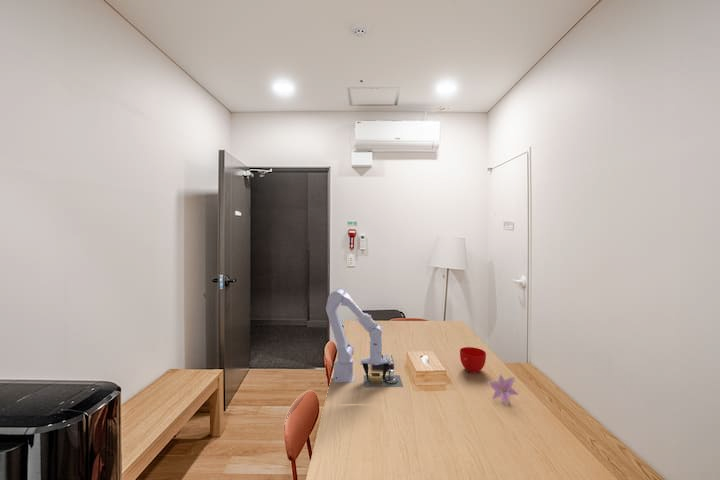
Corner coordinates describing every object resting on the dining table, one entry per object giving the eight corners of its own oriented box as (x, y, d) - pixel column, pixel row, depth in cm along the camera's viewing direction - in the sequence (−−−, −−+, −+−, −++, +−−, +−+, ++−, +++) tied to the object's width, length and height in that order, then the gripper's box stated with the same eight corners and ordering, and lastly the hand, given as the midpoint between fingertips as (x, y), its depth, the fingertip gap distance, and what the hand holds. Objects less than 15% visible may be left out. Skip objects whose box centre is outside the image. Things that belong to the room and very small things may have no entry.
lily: (486, 393, 146) (482, 378, 142) (508, 382, 147) (505, 367, 143) (503, 415, 135) (499, 400, 131) (527, 402, 136) (524, 387, 132)
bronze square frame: (370, 383, 151) (370, 377, 151) (369, 378, 157) (369, 372, 156) (381, 383, 151) (381, 377, 151) (380, 378, 157) (380, 372, 157)
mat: (364, 388, 148) (364, 387, 148) (363, 376, 160) (363, 375, 160) (403, 387, 148) (403, 386, 148) (399, 376, 160) (399, 375, 160)
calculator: (391, 353, 181) (393, 363, 166) (391, 361, 181) (393, 371, 166) (372, 353, 182) (372, 362, 167) (372, 360, 182) (372, 370, 167)
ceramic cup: (451, 372, 164) (451, 353, 164) (466, 363, 177) (466, 345, 177) (476, 381, 156) (476, 360, 155) (489, 370, 168) (490, 351, 168)
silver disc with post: (385, 384, 151) (385, 373, 151) (383, 377, 157) (383, 367, 157) (398, 383, 151) (398, 373, 151) (396, 377, 157) (396, 367, 157)
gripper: (360, 354, 149) (360, 383, 150) (391, 354, 150) (391, 382, 150) (360, 348, 156) (360, 376, 157) (390, 348, 157) (389, 376, 157)
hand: (375, 379), depth 154 cm, fingers open, 7 cm apart
